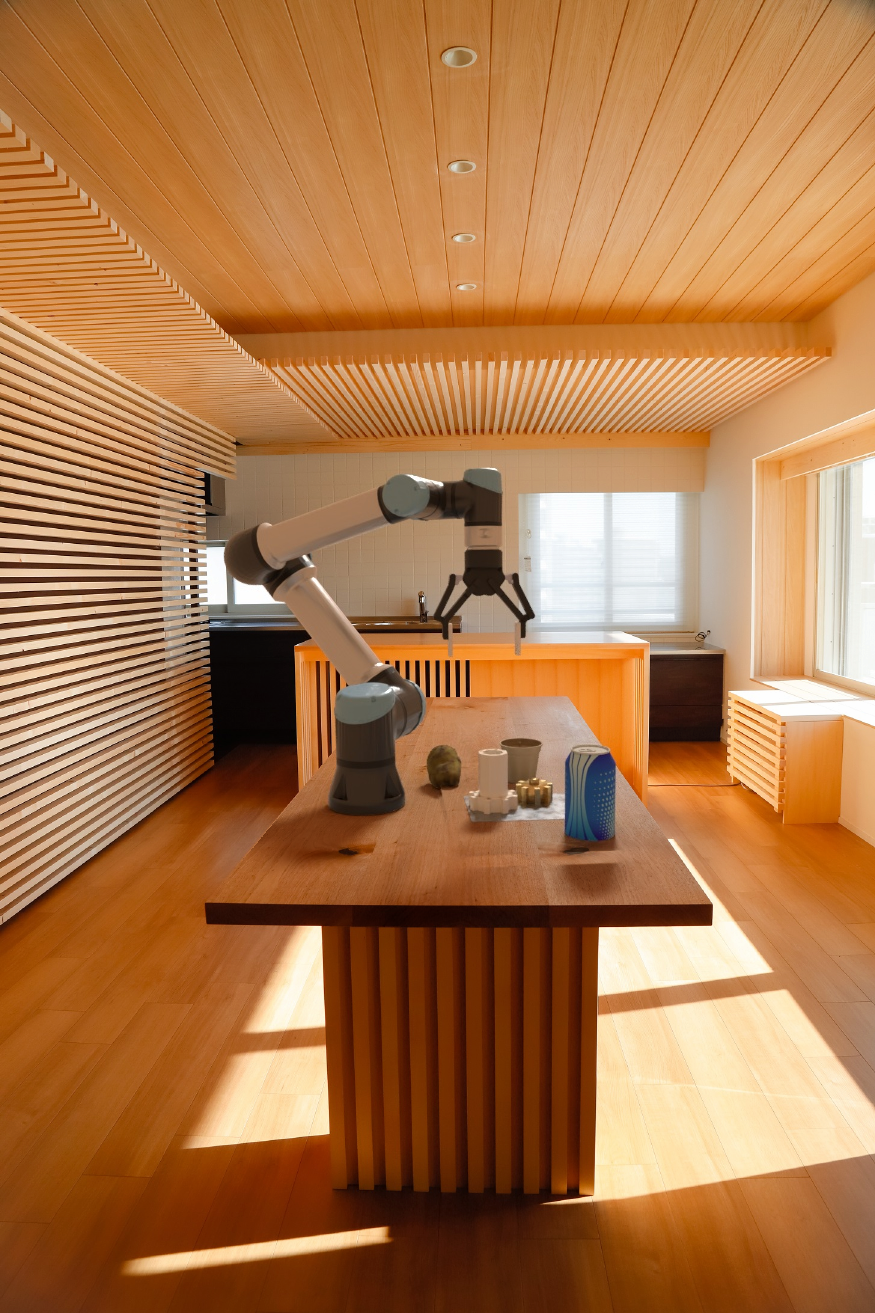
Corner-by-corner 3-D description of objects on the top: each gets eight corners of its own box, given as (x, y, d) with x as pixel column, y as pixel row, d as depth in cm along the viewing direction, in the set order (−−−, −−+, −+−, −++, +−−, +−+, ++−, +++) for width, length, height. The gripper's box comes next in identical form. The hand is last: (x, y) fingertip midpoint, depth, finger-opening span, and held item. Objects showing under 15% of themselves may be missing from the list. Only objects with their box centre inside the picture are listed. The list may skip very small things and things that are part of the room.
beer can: (580, 829, 143) (580, 741, 141) (623, 839, 137) (624, 747, 136) (555, 842, 136) (555, 750, 134) (599, 853, 131) (601, 757, 129)
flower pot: (541, 788, 169) (541, 748, 168) (496, 786, 170) (496, 746, 169) (544, 776, 178) (544, 738, 177) (502, 775, 180) (502, 737, 179)
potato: (419, 793, 166) (418, 755, 165) (430, 776, 179) (429, 741, 178) (458, 794, 165) (458, 756, 164) (467, 778, 177) (467, 742, 176)
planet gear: (472, 814, 147) (471, 758, 146) (467, 800, 156) (466, 747, 154) (520, 813, 147) (520, 757, 146) (512, 799, 156) (512, 746, 155)
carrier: (472, 830, 143) (471, 797, 142) (463, 803, 159) (463, 773, 158) (593, 826, 144) (594, 793, 144) (573, 799, 160) (573, 770, 159)
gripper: (421, 549, 154) (422, 658, 157) (549, 547, 156) (549, 656, 158) (419, 549, 162) (421, 654, 164) (542, 548, 163) (542, 652, 166)
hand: (484, 655), depth 161 cm, fingers open, 13 cm apart
